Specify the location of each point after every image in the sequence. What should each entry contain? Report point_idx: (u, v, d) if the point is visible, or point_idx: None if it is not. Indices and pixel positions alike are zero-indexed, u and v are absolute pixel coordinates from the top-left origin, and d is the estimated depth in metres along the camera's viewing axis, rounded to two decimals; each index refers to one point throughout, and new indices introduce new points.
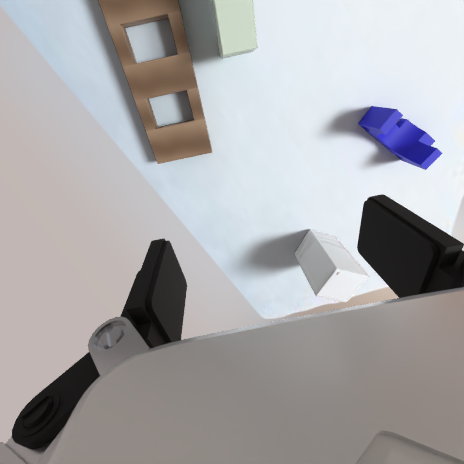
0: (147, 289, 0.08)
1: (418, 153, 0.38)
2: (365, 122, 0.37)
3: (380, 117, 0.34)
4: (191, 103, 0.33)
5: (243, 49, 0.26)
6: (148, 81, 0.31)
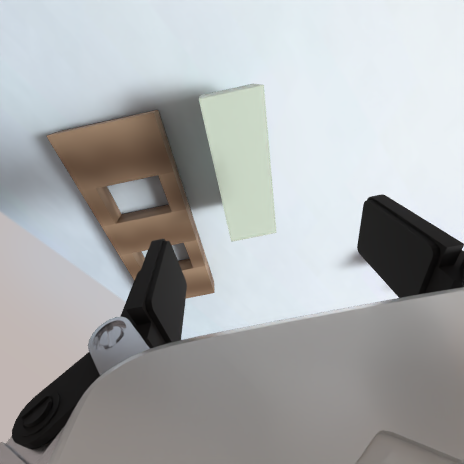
0: (147, 289, 0.08)
1: None
2: None
3: None
4: (189, 253, 0.27)
5: (257, 235, 0.20)
6: (135, 237, 0.25)
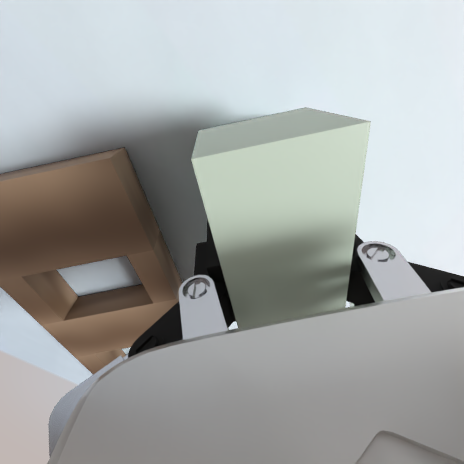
0: None
1: None
2: None
3: None
4: None
5: None
6: (97, 336, 0.16)
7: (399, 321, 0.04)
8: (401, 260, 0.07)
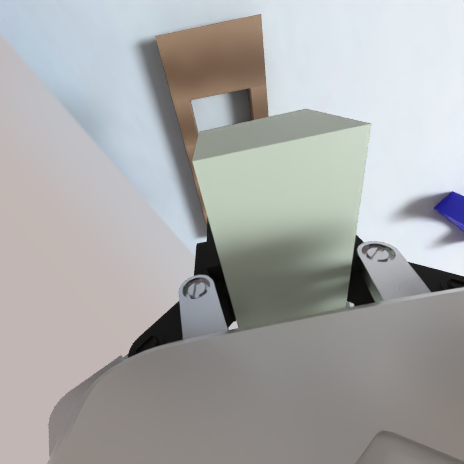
0: None
1: None
2: (445, 210, 0.32)
3: None
4: None
5: None
6: None
7: (399, 321, 0.04)
8: (401, 260, 0.07)
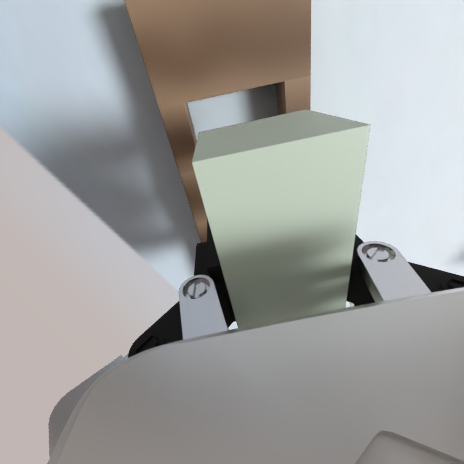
0: None
1: None
2: None
3: None
4: None
5: None
6: None
7: (399, 321, 0.04)
8: (401, 260, 0.07)
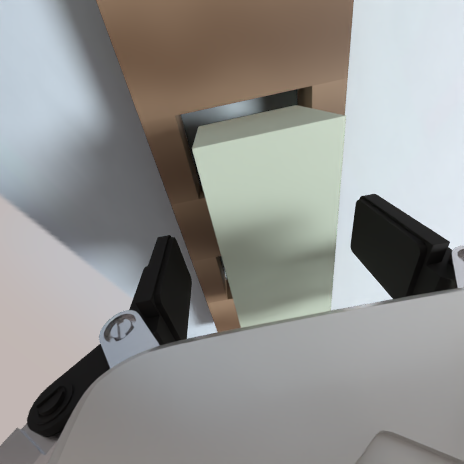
0: (155, 283, 0.08)
1: None
2: None
3: None
4: None
5: None
6: None
7: (399, 321, 0.04)
8: None
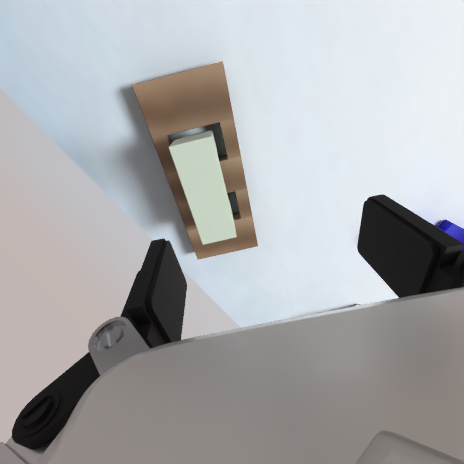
0: (147, 289, 0.08)
1: None
2: None
3: None
4: (239, 203, 0.29)
5: (222, 239, 0.26)
6: None
7: (399, 321, 0.04)
8: None
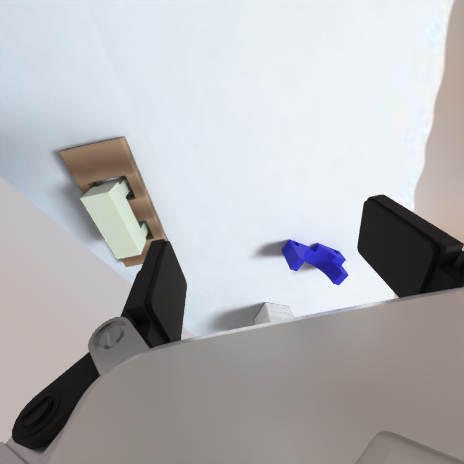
0: (147, 289, 0.08)
1: (332, 272, 0.47)
2: (285, 253, 0.46)
3: (292, 256, 0.44)
4: (150, 228, 0.40)
5: (130, 255, 0.37)
6: None
7: (399, 321, 0.04)
8: None
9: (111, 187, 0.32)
